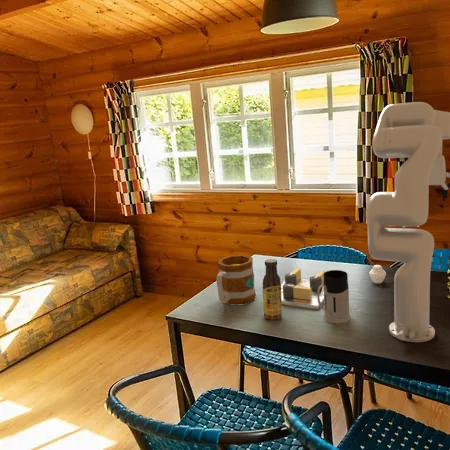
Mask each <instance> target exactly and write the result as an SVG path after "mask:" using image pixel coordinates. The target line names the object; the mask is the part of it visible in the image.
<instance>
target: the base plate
mask: <svg viewBox="0 0 450 450" xmlns="http://www.w3.org/2000/svg"><path fill="white" fill-rule="evenodd" d="M284 284H285V280H283V282H282V283H281V298H282V305H284V306H291V307H297V308H302V309H303V308H304V309H312V310H316V311H317V310H319V309H321V308H320V306H319V303H318V299H317V291H315V290H311V291H312V299H311V300H306V299H298V298H291V299H287V298H284V297H283V285H284ZM322 285H324V283H323V284H322ZM296 286H302V287H310V279H307V278H306V279H305V278H301V279H300V280H299V281H298V282H297V285H296ZM319 297H320V303H321V305H322V306H323V304H324V286H322V289H321V290H320V292H319Z"/></svg>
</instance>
